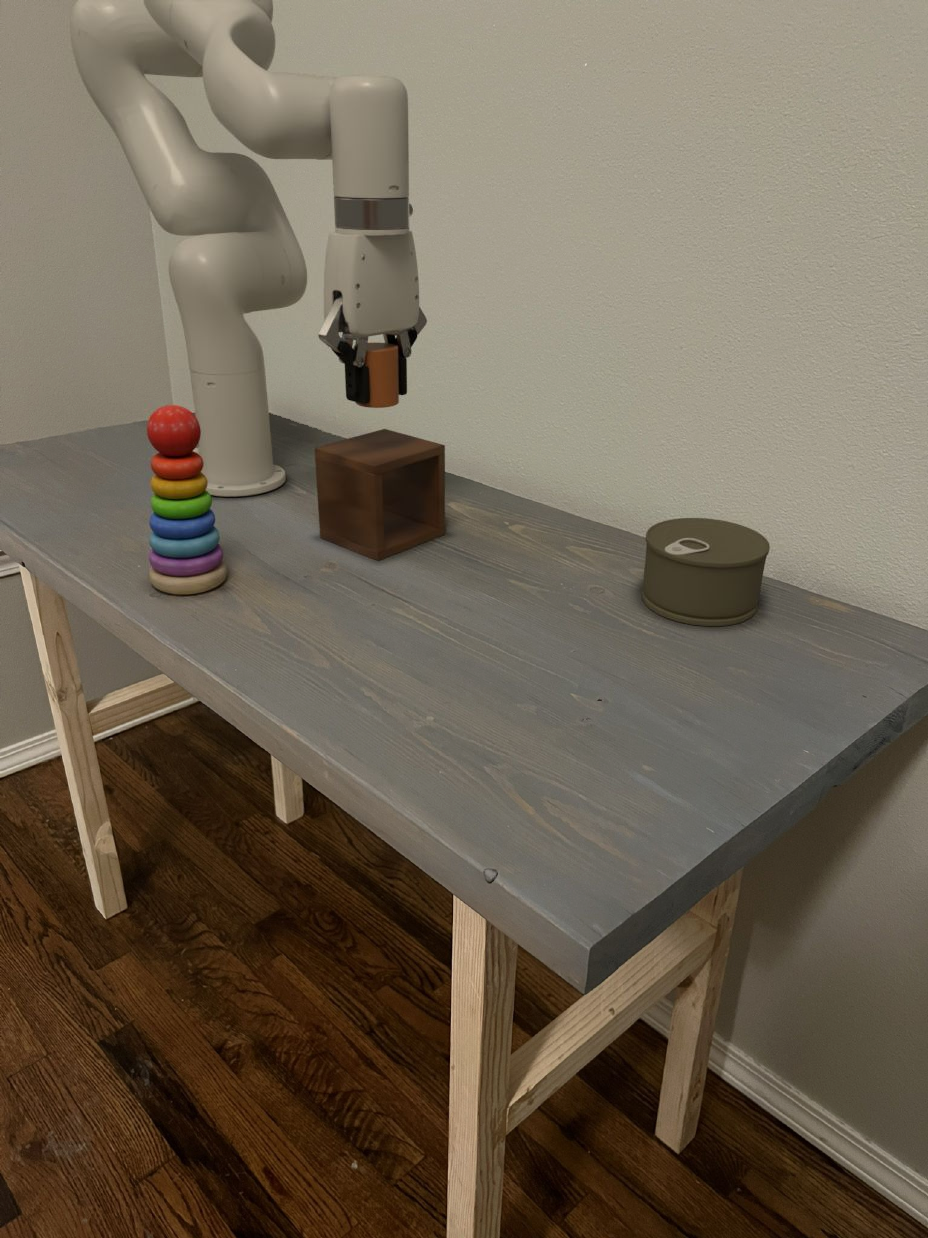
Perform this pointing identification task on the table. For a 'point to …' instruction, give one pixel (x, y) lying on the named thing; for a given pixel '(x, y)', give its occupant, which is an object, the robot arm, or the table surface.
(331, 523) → the shelf
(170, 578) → the stacking toy
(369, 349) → the copper tin
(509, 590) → the table surface
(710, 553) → the can
